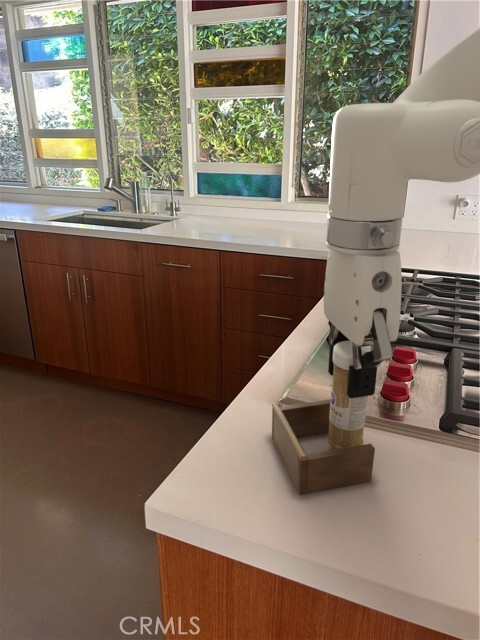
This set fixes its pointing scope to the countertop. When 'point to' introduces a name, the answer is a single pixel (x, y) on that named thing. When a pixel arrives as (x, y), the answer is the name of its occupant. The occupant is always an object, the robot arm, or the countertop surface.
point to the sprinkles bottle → (345, 402)
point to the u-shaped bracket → (320, 466)
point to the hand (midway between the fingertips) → (350, 382)
